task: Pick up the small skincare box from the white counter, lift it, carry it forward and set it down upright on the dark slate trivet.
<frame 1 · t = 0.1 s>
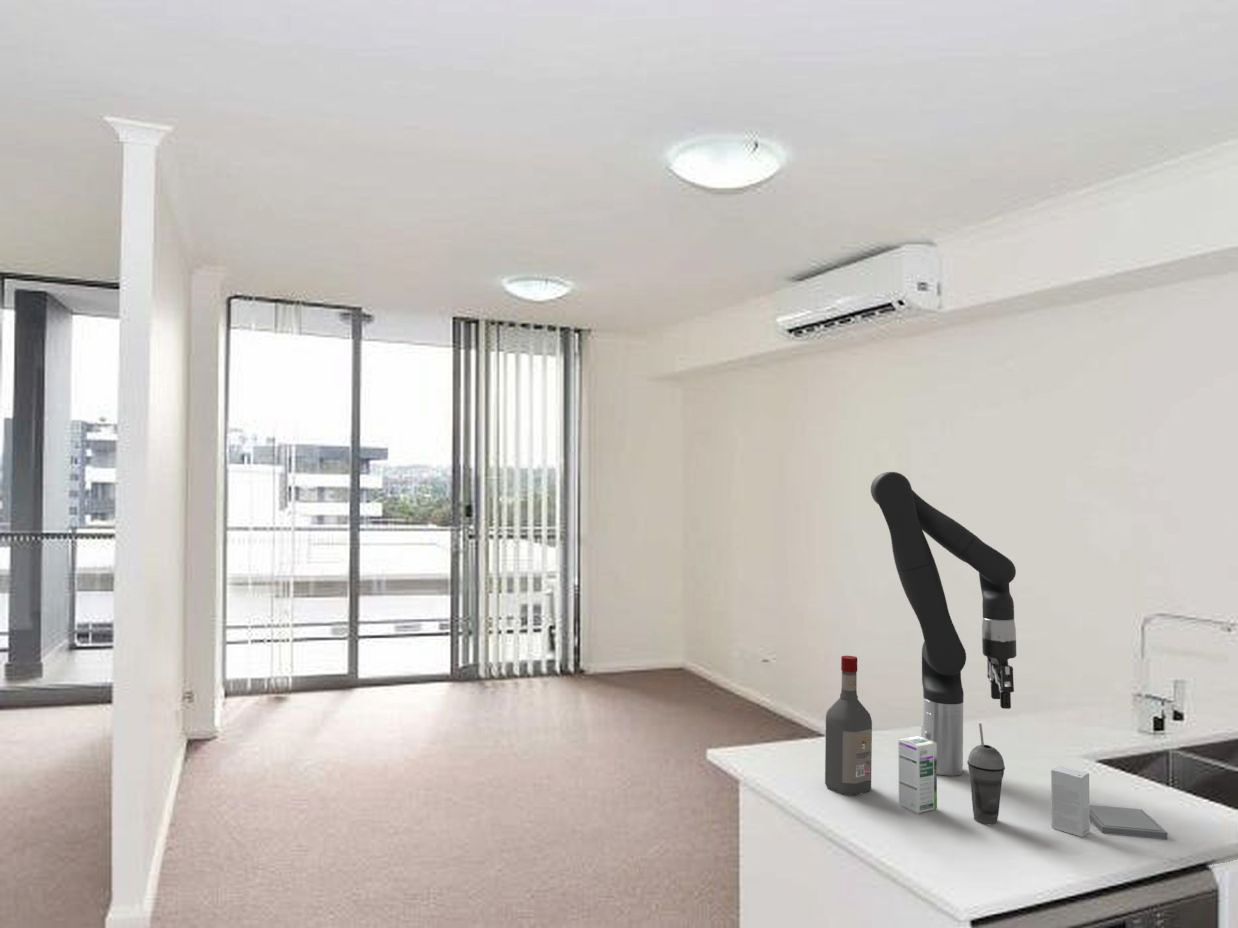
hand: (1000, 703, 199), 17 cm above the counter, tool pointing down, fingers open, 8 cm apart
slate trivet: (1122, 823, 171), on the counter
liquor: (847, 788, 188), on the counter
skincare box: (1070, 830, 167), on the counter
beverage cup: (985, 821, 171), on the counter
syrup box: (917, 807, 178), on the counter
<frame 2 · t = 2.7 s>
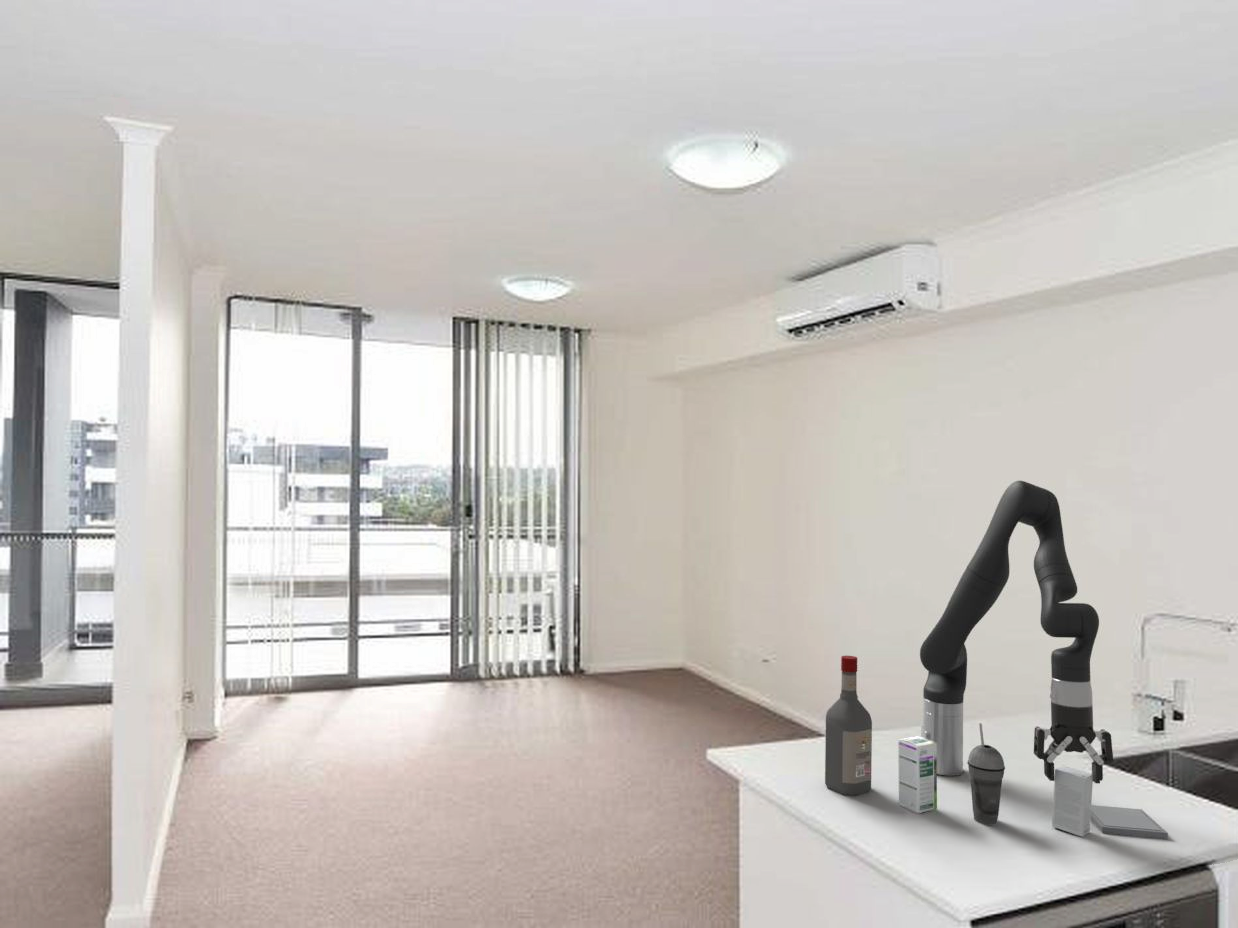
hand: (1073, 780, 167), 10 cm above the counter, tool pointing down, fingers open, 8 cm apart
nothing on the counter moved.
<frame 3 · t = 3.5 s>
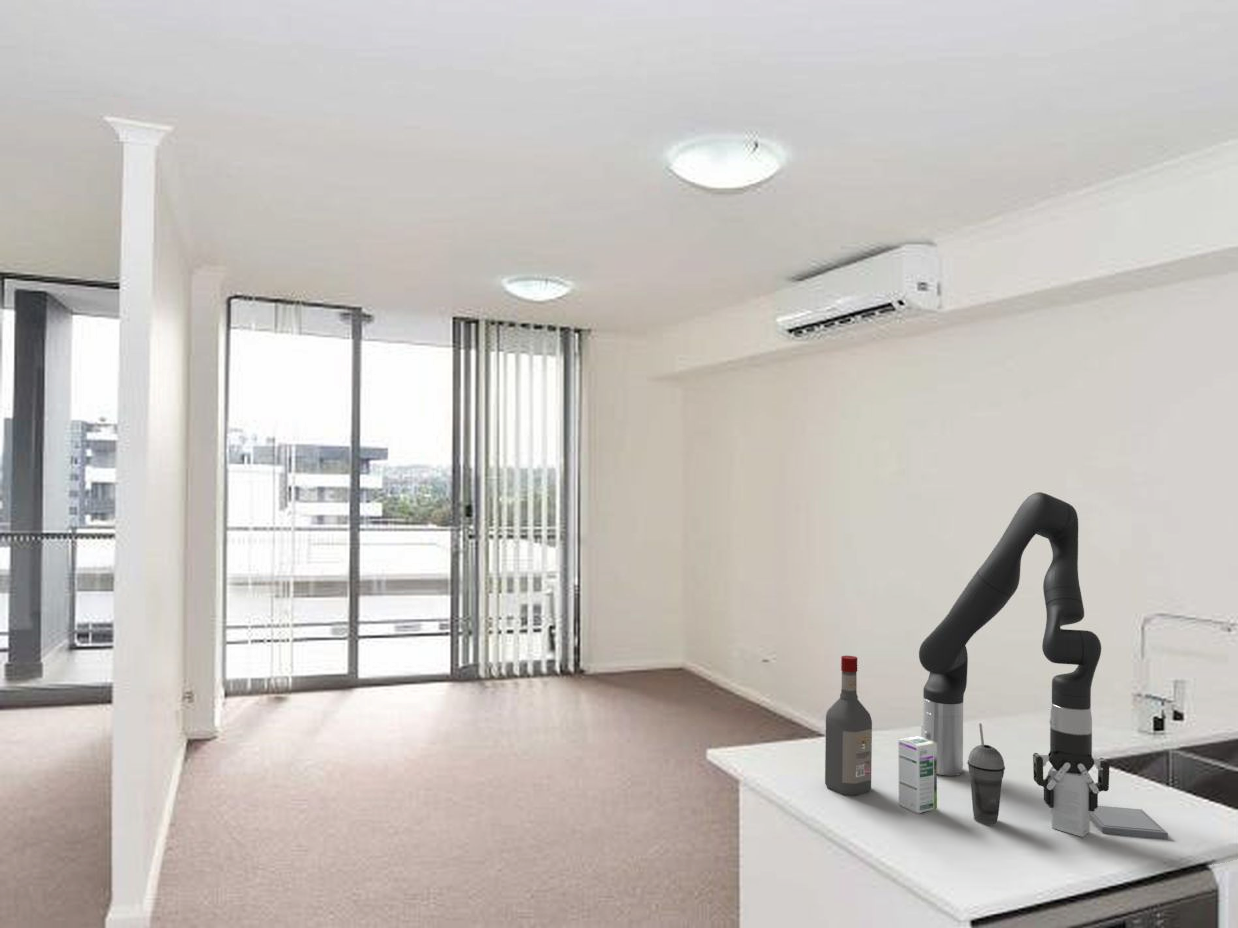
hand: (1070, 807, 167), 4 cm above the counter, tool pointing down, fingers closed on skincare box, 7 cm apart
skincare box: (1070, 830, 167), on the counter, touching gripper
everything else where it was.
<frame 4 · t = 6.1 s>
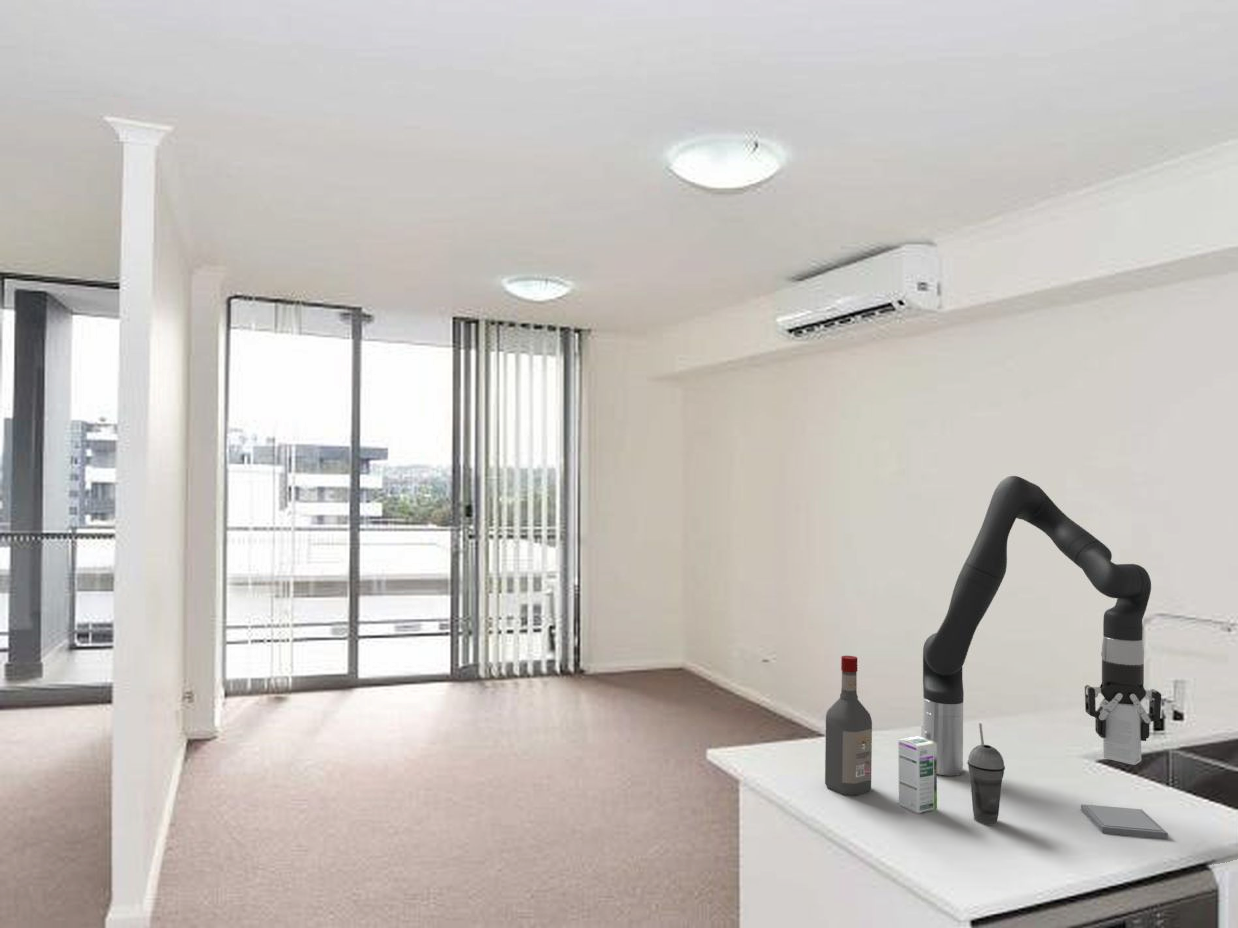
hand: (1122, 738, 171), 18 cm above the counter, tool pointing down, fingers closed on skincare box, 7 cm apart
skincare box: (1122, 760, 171), point 13 cm above the counter, touching gripper
everything else where it was.
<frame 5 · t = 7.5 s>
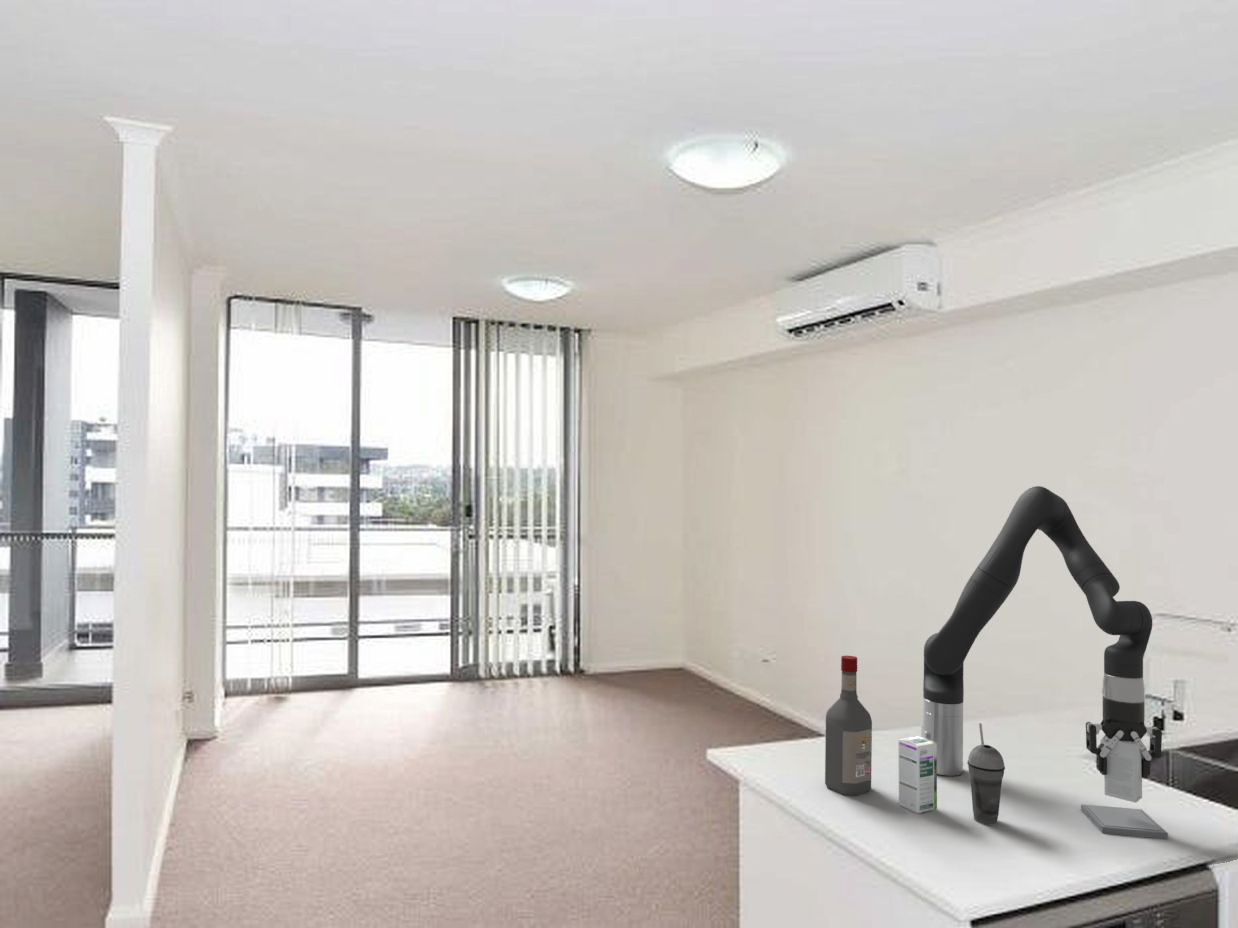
hand: (1123, 775, 171), 10 cm above the counter, tool pointing down, fingers closed on skincare box, 7 cm apart
skincare box: (1123, 797, 171), point 5 cm above the counter, touching gripper
everything else where it was.
when the fingers open (6 cm above the counter, at t = 8.8 s): skincare box stays where it is, resting on slate trivet.
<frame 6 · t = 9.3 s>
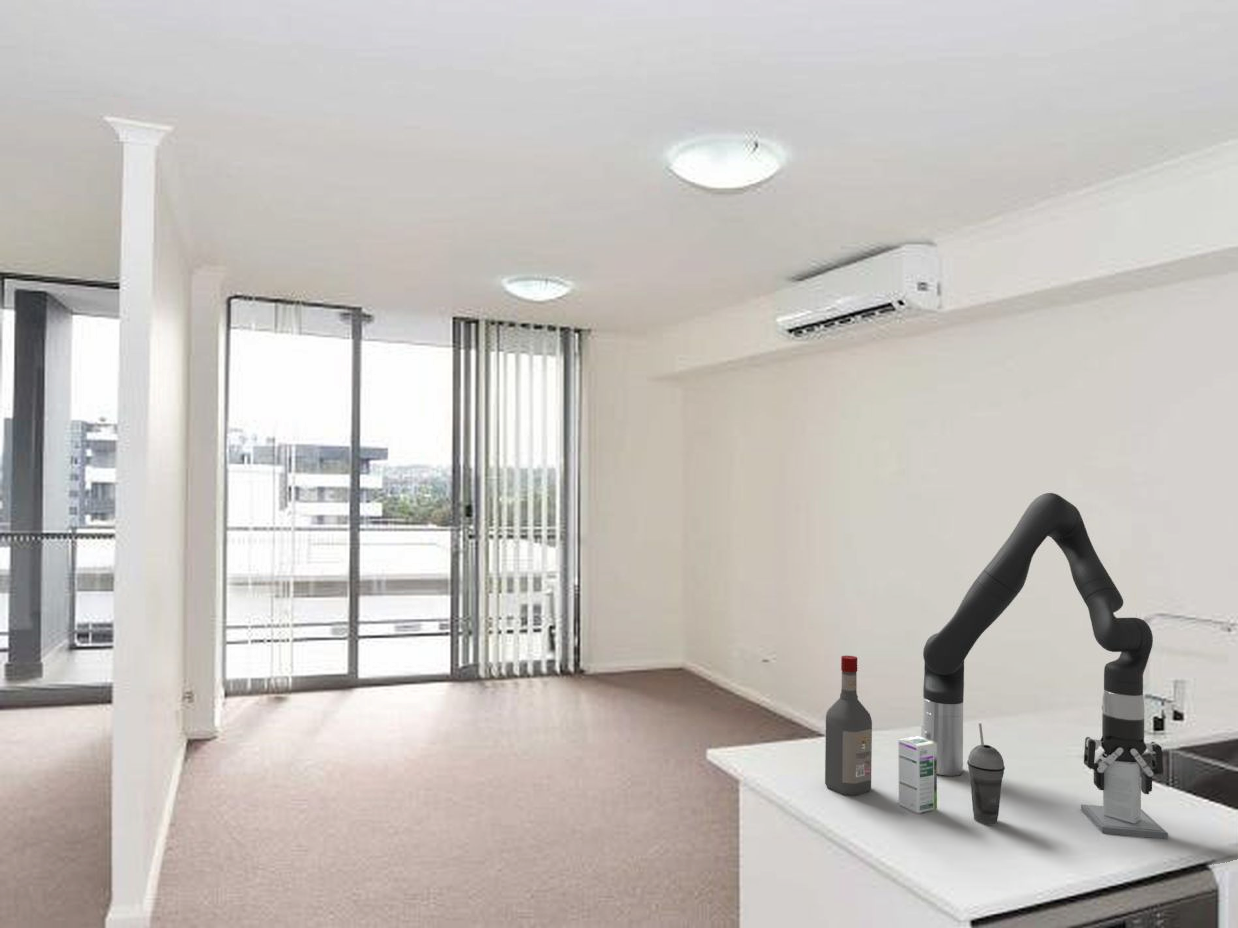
hand: (1122, 790, 171), 7 cm above the counter, tool pointing down, fingers open, 8 cm apart
skincare box: (1121, 818, 171), point 1 cm above the counter, touching slate trivet
everything else where it was.
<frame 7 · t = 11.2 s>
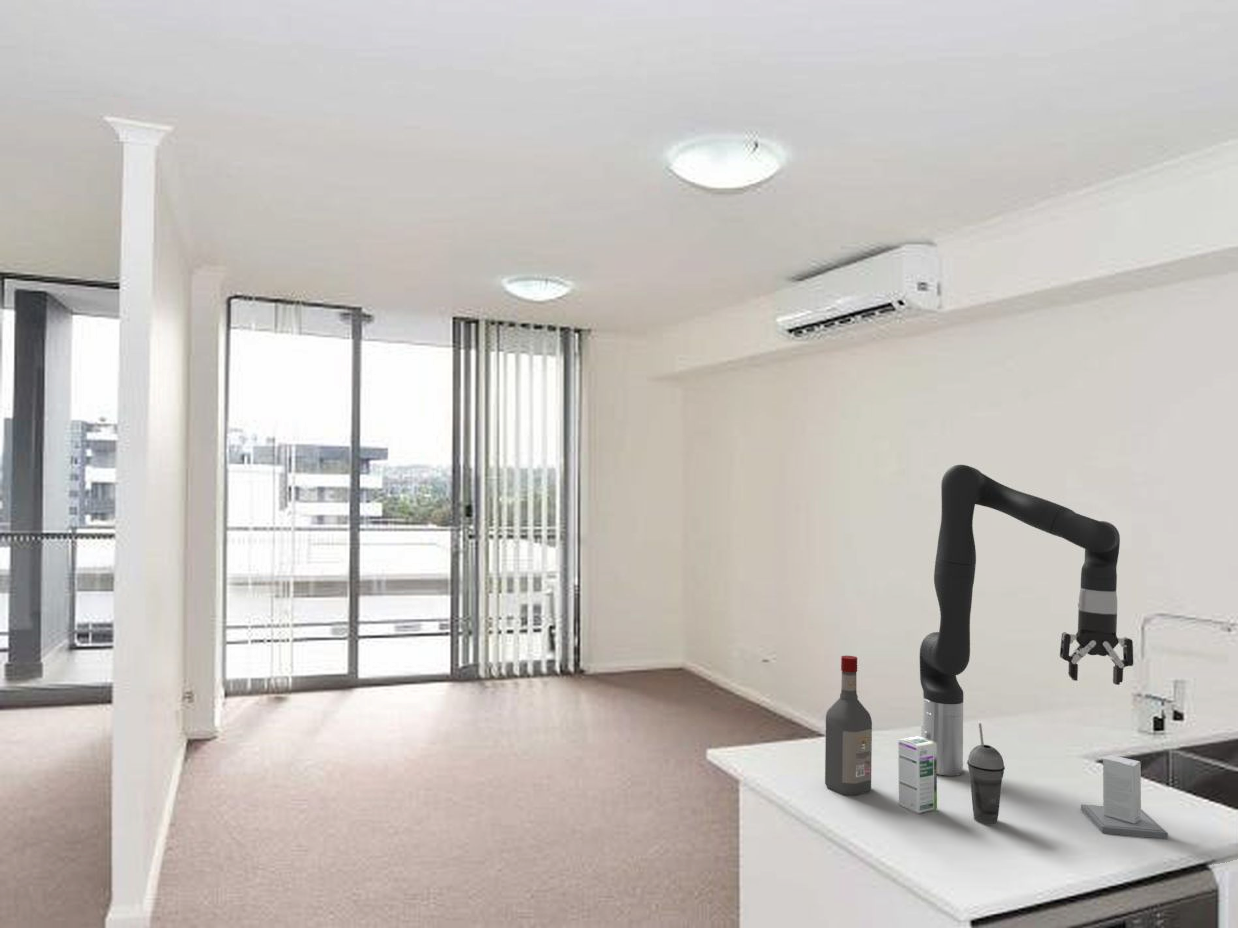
hand: (1095, 681, 183), 27 cm above the counter, tool pointing down, fingers open, 8 cm apart
nothing on the counter moved.
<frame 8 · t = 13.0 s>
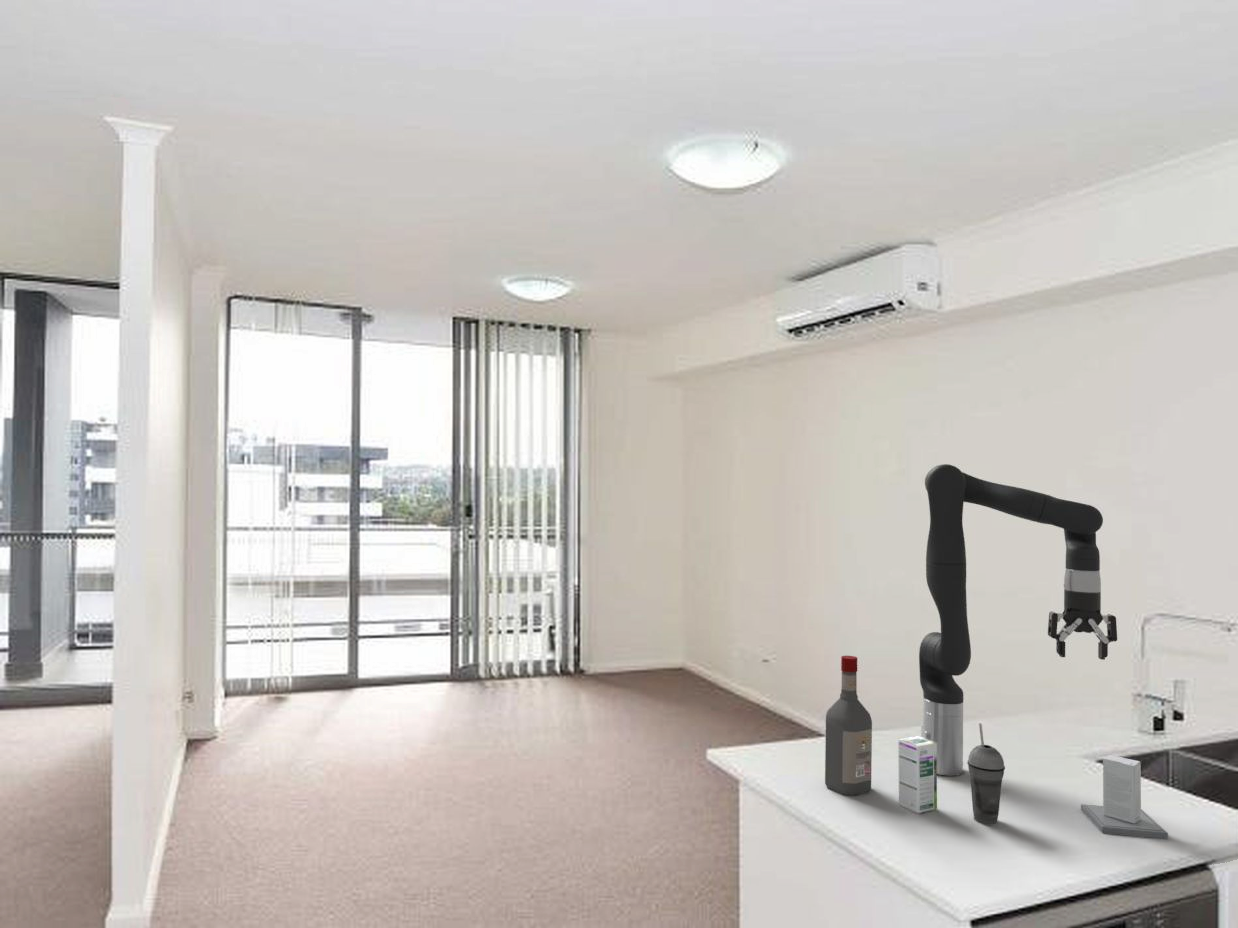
hand: (1081, 657, 192), 30 cm above the counter, tool pointing down, fingers open, 8 cm apart
nothing on the counter moved.
at the end: skincare box inside the target area on the slate trivet (0.1 cm from its centre), point 1.1 cm above the slate trivet's base; skincare box tilted 0°; the gripper is holding nothing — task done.
